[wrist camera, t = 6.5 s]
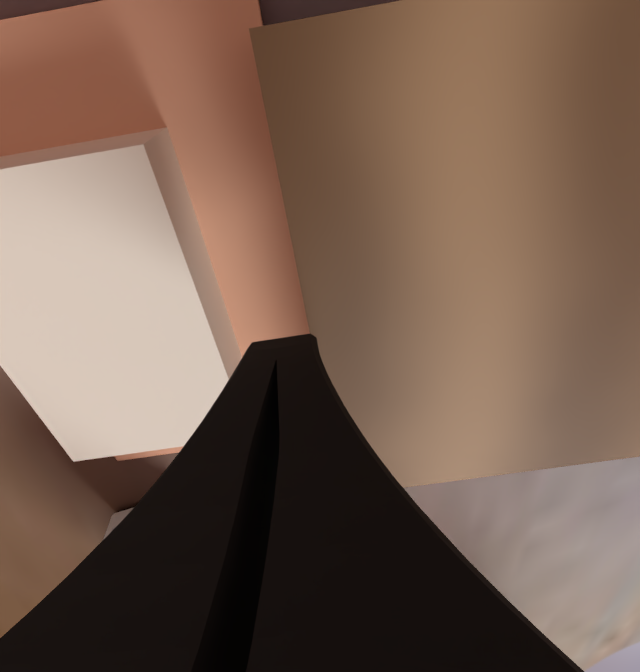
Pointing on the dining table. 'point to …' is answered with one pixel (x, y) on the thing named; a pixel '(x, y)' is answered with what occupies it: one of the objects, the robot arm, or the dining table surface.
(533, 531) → the dining table surface
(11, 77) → the mat
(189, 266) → the thick cream tile
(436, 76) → the wooden block
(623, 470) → the dining table surface
